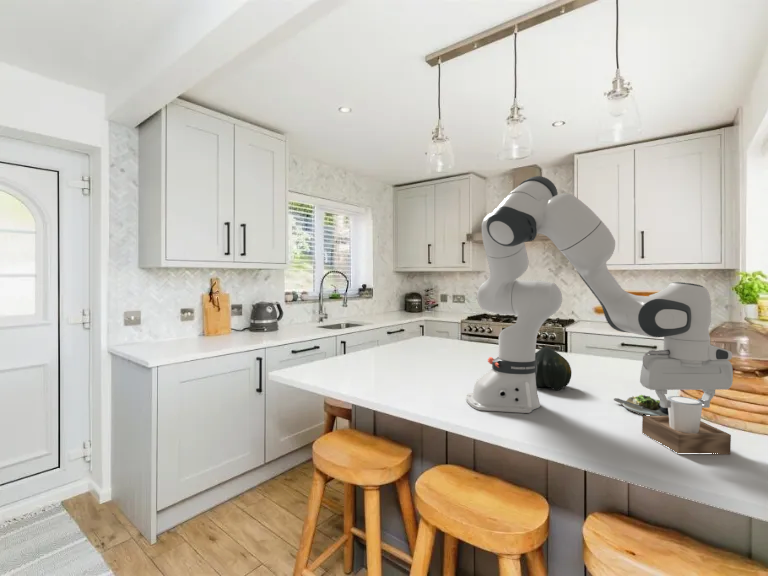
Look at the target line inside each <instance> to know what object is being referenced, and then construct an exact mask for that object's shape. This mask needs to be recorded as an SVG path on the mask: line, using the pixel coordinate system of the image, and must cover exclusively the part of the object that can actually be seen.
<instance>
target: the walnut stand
mask: <svg viewBox="0 0 768 576" xmlns="http://www.w3.org/2000/svg"><path fill="white" fill-rule="evenodd" d="M641 421H642V422H641V423H642V424H641V425H642V426H641V427H642V428H641V434H643V433H644V434H646V435H647V436H646V435H645V436H646V437H648V436H649V437H651V438H652V439H651V438H650V439H651V440H653V439H654V440H656V441H658V442H660V443H662V444H663V445H665V446H667V447H669V448H670V449H672V450H674V451H675V452H677V453H712V454H711V455H731V448H732V447H731V445H732V444H731V443H732V442H731V441H732V434H731V433H727V432H725V431H723V430H721V429H719V428H717V427H715V426H712V425H710V424H708V423H705V422H704V421H701V420H700V427H699V432H698V433H685V432H680V431H677V430H674V429H672V428H671V427H670V425H669V416H645V415H642V420H641ZM644 434H643V435H644ZM649 437H648V438H649ZM654 440H653V441H654ZM656 441H655V442H656ZM658 442H657V443H658ZM663 445H662V446H663ZM713 453H714V454H713ZM715 453H716V454H715ZM717 453H718V454H717Z"/></svg>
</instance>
